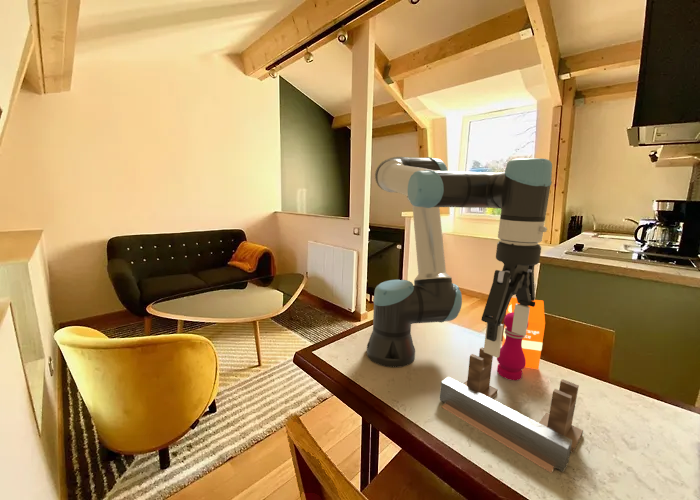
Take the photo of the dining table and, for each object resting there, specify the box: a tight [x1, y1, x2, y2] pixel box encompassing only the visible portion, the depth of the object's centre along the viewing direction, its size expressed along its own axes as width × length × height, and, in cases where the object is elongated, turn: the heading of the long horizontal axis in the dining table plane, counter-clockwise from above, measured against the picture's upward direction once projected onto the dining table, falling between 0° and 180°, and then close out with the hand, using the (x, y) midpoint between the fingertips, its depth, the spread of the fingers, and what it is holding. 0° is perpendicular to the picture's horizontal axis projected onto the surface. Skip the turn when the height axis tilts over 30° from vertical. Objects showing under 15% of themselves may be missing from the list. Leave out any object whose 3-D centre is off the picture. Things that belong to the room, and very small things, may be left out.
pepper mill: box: [496, 309, 528, 381], centre depth 86 cm, size 7×7×20 cm
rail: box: [439, 376, 572, 473], centre depth 67 cm, size 26×3×5 cm, turn 42°
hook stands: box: [462, 346, 584, 454], centre depth 72 cm, size 25×7×11 cm, turn 42°
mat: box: [441, 403, 555, 474], centre depth 67 cm, size 23×6×1 cm, turn 42°
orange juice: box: [501, 297, 546, 370], centre depth 93 cm, size 8×9×20 cm
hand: (506, 343), depth 63 cm, fingers open, 13 cm apart
